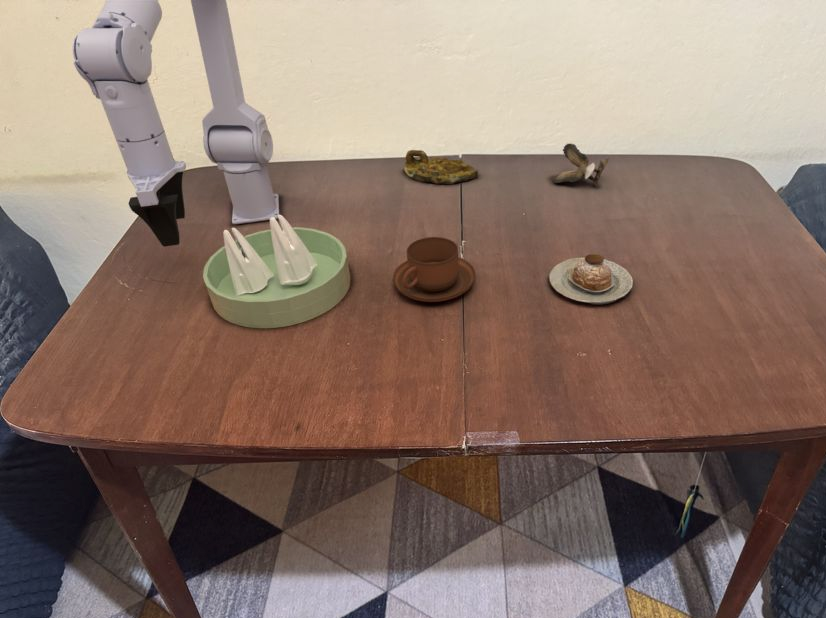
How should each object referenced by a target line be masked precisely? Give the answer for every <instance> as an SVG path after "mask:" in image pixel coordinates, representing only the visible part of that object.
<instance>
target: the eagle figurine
mask: <svg viewBox="0 0 826 618" xmlns="http://www.w3.org/2000/svg"><path fill="white" fill-rule="evenodd" d="M562 151H563V154H564V157H565V158H566V159H567V160H569V162H570V163H571V164H572V165H574V166H575V167H577V168H576V169H574V170H566V171H562V172H561V173H559V174H558V175H557V174H556V175H555V176H553V177H552V178H551V181H552V182H553V183H554V184H558V183H559V184H560V183H564V182H570V183H574V182H578V181H579V180H580V179H585V180H587V179H588V180H590V181H592V182H593V184H594V187H595V188H597V187H598V185H599V184H598V183H599V180H600V178H601V176H602V173H603V171H604V169H605V168H606V166H607V164H608V162H609V159H610V157H609V156H608V157H606V159H605V160H604V162H603V161H602V160H600V161H599V163H598V168H596V163H595V162H591V164H589V162H590V161H589V159H588V157H587V155H586V154H585V153H582V152H581V151H580V149H578V147H577V145H576V144H575V143H566V144H565V145H564V146H563V149H562ZM593 173H595V176H593V175H592V174H593Z"/></svg>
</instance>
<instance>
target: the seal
mask: <svg viewBox="0 0 826 618" xmlns="http://www.w3.org/2000/svg"><path fill="white" fill-rule="evenodd" d="M415 157H418V158H419V159H417V158H415ZM403 169H404V170H403V171H404V173H405V174H406V176H407V177H409V179H410V178H411V179H412V180H415V181H417V182H421V183H432V184H437V185H438V184H440V185H448V184H449V185H451V184H455V183H461V182H467V181H469V180H472V179H475V178H476V177H477V176H478V175H479V171H478V170H477V169H476V168H475V167H473V166H472V165H470V164H469V163H466V162H464V161H463V160H461V159H456V160H455V159H449V158H447V157H443V158H442V157H434V156H431V157H430V158H429V156H428V155H427V153H426V152H425V151H424V150H421V149H418V150H416V149H411V150H410V149H409V150H408V151H407V152H406V154H405V162H404V164H403Z"/></svg>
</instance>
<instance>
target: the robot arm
mask: <svg viewBox="0 0 826 618" xmlns="http://www.w3.org/2000/svg"><path fill="white" fill-rule="evenodd" d="M190 4H191V8H192V13H193V17H194V22H195V23H194V24H195V26H196V31H197V36H198V37H197V38H198V41H199V42H198V43H199V47H200V50H201V57H202V60H203V61H202V62H203V65H204V70H205V74H206V79H207V83H208V89H209V93H210V97H211V98H210V99H211V103H212V109H210V110H209V111H208V112H207V113H206V114H205V116H204V117H203V118H202V120H201V124H202V131H203V136H202V137H203V138H202V143H203V149H204V152H205V154H206V157H207V158H208V159H209V160H210V161H211V162H212V163H213V164H216V166H217V169H218V170H222V172H223V175H224V179H225V183H226V187H227V190H228V193H229V197H230V200H231V204H232V215H231V223H232V225H240V224H249V223H256V222H264V221H270V218H271V217H274V218H275V219H276V220H279V219H278V215H280V200H279V196H280V195H279V193H274V191H273V186H272V182H271V178H270V174H269V170H268V165H267V164H269V163H270V161H271V159H272V157H273V154H274V143H273V138H272V134H271V131H270V129H269V127H268V124H267V120H266V116H265V115H264V114H263V113H262V112H260V111H259V110H257V109H255V108H254V107H252V106H251V105H250V104H248V103H247V102H246V99H245V94H244V88H243V83H242V78H241V72H240V68H239V61H238V57H237V51H236V46H235V40H234V35H233V30H232V25H231V19H230V14H229V8H228V3H227V0H190ZM162 10H163V9H162V7H161V4H160V2H159V0H105V1H104V4H103V6H102V8H101V9H100V12H99V13H98V15H97V17H96V19H95V21H94V23H93V25H92V27H86V28H83V29H81V30H80V31H79V32H78V33H77V34H76V35H75V36H74V38H73V41H72V55H73V59H74V61H73V65H74V68H75V69H76V71H77V73H78V74H79V75H80V77H81V78H82V79H83V80H84V81H85V82H86V83H87V84H88V86H89V88H90V90H91V93H92V95H93V96H94V97H95V98H96V99H97V100H100V102H101V105H102V107H103V110H104V112H105V115H106V118H107V121H108V123H109V126H110V128H111V131H112V134H113V136H114V139H115V142H116V144H117V147H118V149H119V152H120V155H121V157H122V160H123V162H124V166H125V167H126V174H127V177H128V179H129V181H130V182H131V184H132V186H133V187H134V189H135V195H136V196H132V197H130V198H129V200H128V206H129V209H130V210H131V211H132V213H134V214H135V215H137V216H138V217H139V218H140V219H141V220H143V221H144V223H145V224H146V225H147V226H148V227H149V229H150V230H151V231H152V233H153V234H154V237H156V239H157V240H158V242H159V243H160V244H161V245H162V247H165V248H166V247H171V246H179V245H180V241H181V240H180V239H181V238H180V229H179V224H178V220H180V219H181V220H182V219H185V216H186V211H185V210H186V209H185V201H184V192H183V191H184V190H183V176H184V175H183V174H184V172H185V171H186V169H187V164H186V162H185V160H178V161H177V160H176V159H175V158H174V155H173V152H172V150H171V146H170V143H169V140H168V137H167V134H166V131H165V127H164V126H163V122H162V119H161V116H160V113H159V110H158V107H157V104H156V101H155V97H154V95H153V92H152V89H151V86H150V83H149V80H148V79H149V77H150V76H151V75H152V71H153V70H152V68H153V63H152V62H153V61H152V53H153V44H152V43H151V42H152V40H153V39H154V35H156V34H155V33H156V31H157V29H158V26H159V24H160V22H161V20H162V19H163V11H162Z"/></svg>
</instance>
